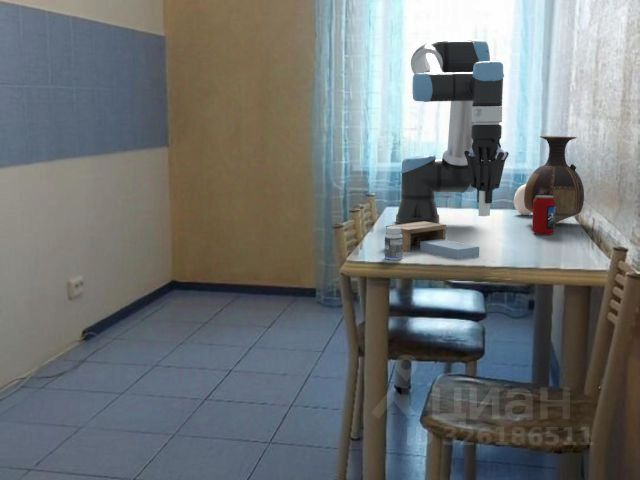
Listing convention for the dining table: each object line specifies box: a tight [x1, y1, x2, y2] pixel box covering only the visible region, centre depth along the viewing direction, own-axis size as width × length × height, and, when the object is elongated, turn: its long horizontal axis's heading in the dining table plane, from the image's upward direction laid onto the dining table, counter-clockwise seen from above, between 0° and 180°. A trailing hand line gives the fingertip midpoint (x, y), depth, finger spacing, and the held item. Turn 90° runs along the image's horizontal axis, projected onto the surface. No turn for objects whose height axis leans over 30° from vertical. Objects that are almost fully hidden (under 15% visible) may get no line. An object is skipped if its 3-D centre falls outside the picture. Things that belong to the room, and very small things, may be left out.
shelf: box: [385, 221, 447, 253], centre depth 218 cm, size 9×15×6 cm, turn 127°
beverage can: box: [531, 195, 556, 236], centre depth 239 cm, size 7×7×12 cm
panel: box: [419, 239, 480, 260], centre depth 209 cm, size 15×8×3 cm, turn 33°
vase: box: [524, 135, 585, 224], centre depth 256 cm, size 23×19×30 cm
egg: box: [513, 183, 533, 216], centre depth 282 cm, size 9×9×11 cm
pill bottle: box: [384, 225, 403, 261], centre depth 201 cm, size 5×5×8 cm
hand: (484, 215), depth 197 cm, fingers closed
